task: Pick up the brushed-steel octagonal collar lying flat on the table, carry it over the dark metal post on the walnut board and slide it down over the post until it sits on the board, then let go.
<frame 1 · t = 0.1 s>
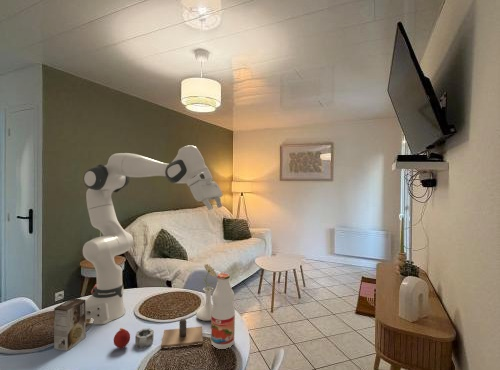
hand: (215, 208, 112), 54 cm above the table, tool tilted 30°, fingers open, 8 cm apart
steel collar: (144, 342, 107), on the table
onion: (121, 348, 104), on the table
flower in vase: (207, 316, 129), on the table
post board: (182, 338, 110), on the table
coffee box: (70, 343, 107), on the table
fruit juice: (222, 343, 108), on the table
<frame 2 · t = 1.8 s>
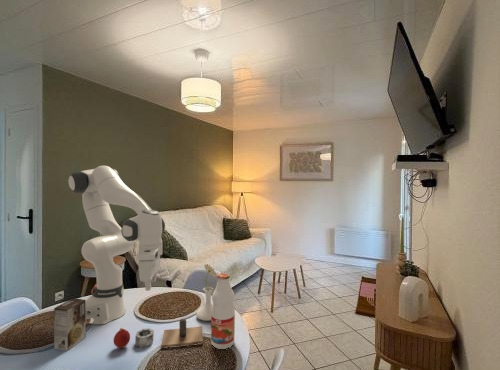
hand: (151, 285, 106), 24 cm above the table, tool pointing down, fingers open, 8 cm apart
nothing on the table moved.
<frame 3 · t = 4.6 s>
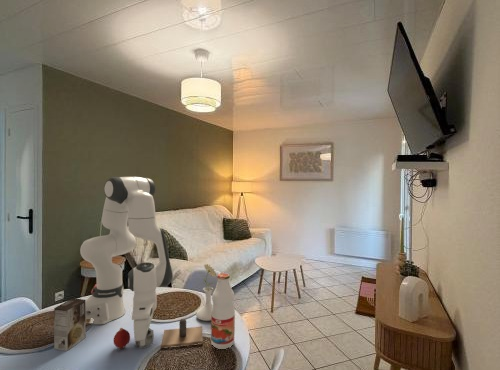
hand: (144, 338, 107), 2 cm above the table, tool pointing down, fingers closed on steel collar, 6 cm apart
steel collar: (144, 342, 107), on the table, touching gripper
everything else where it was.
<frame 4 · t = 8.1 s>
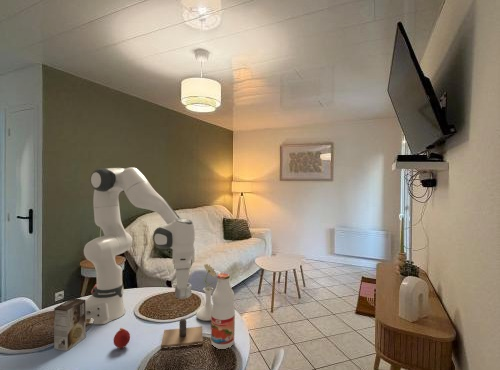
hand: (183, 291, 110), 20 cm above the table, tool pointing down, fingers closed on steel collar, 6 cm apart
steel collar: (183, 295, 110), point 18 cm above the table, touching gripper
everything else where it was.
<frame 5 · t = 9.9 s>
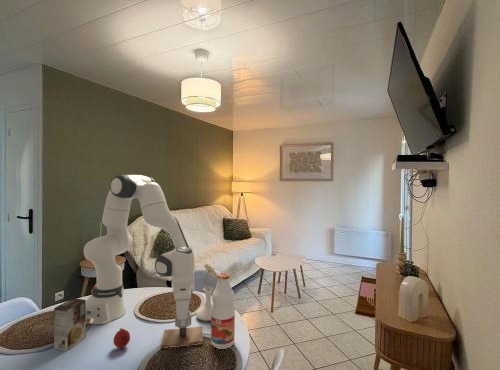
hand: (183, 319, 110), 8 cm above the table, tool pointing down, fingers closed on steel collar, 6 cm apart
steel collar: (183, 323, 110), point 6 cm above the table, touching gripper
everything else where it was.
when the fingers open (4 cm above the table, at t = 11.6 s): steel collar stays where it is, resting on post board.
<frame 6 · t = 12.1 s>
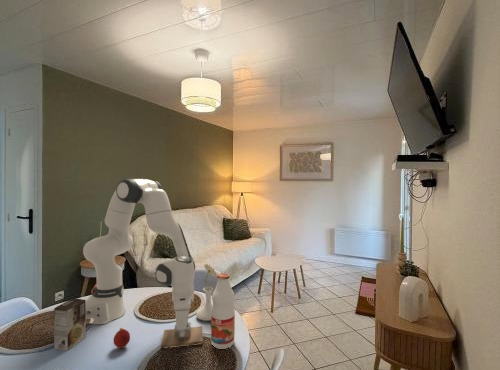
hand: (182, 329, 110), 4 cm above the table, tool pointing down, fingers open, 8 cm apart
steel collar: (182, 335, 110), point 1 cm above the table, touching post board
everything else where it was.
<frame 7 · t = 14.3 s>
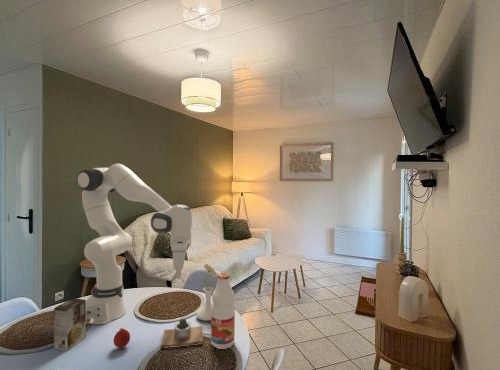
hand: (179, 273, 117), 25 cm above the table, tool pointing down, fingers open, 8 cm apart
nothing on the table moved.
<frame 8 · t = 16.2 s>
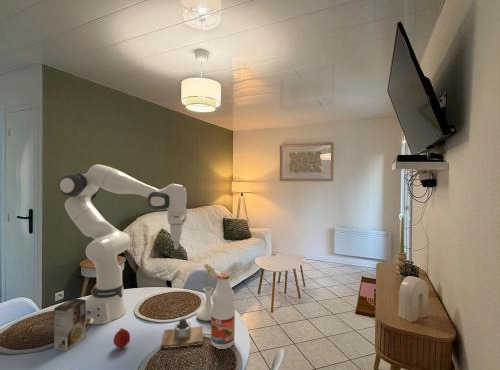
hand: (176, 246, 128), 34 cm above the table, tool pointing down, fingers open, 8 cm apart
nothing on the table moved.
at the end: steel collar 0.1 cm from the post board (horizontally); steel collar point 1.5 cm above the table; the gripper is holding nothing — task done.
